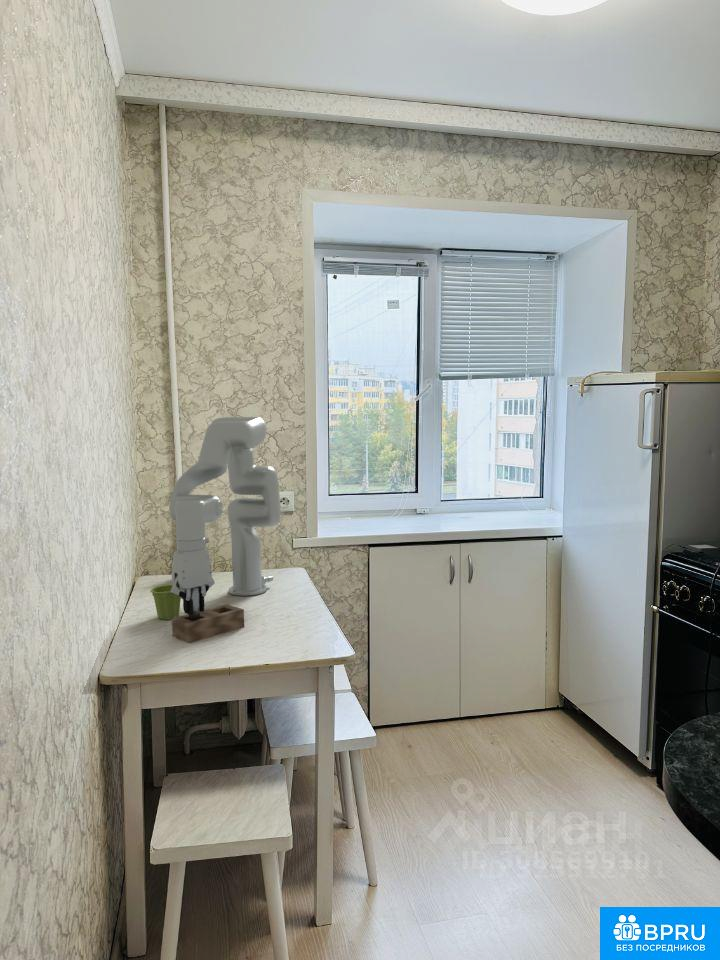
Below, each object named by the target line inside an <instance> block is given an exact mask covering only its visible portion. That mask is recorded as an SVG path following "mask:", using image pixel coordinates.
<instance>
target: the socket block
mask: <svg viewBox="0 0 720 960" xmlns="http://www.w3.org/2000/svg"><path fill="white" fill-rule="evenodd" d="M241 627H242V628H245V609H244V608H241V607H238V606H235V605H231V604H223V605H219V606H215V607H212V608H208V609H204V611H203V612H201V611H200V619H198V620H195V621H190V620H189V614H184V615H181V616H180V615H179V616H178V617H175V618H172V619H171V631H172V632H171V633H172V637H173V638H174V639H177V640H179V641H183V642H185V643H188V644H190V643H194V642H197V641H201V640H204V639H207V638H211V637H214V636H218V635H221V634H224V633H227V632H228V633H229V632H232V631H235V630H238V629H242V628H241Z"/></svg>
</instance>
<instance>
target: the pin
mask: <svg viewBox="0 0 720 960" xmlns="http://www.w3.org/2000/svg"><path fill="white" fill-rule="evenodd" d="M190 600H192V604H193V614H192V615H189V620H190V621H195V620H198V619H200V597H199V587H195V588H191V593H190Z"/></svg>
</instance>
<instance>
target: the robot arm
mask: <svg viewBox="0 0 720 960" xmlns="http://www.w3.org/2000/svg"><path fill="white" fill-rule="evenodd" d="M267 431H268V430H267V425H266V422H265V420H263V418H261V417H259V416H225V417H224V416H223V417H219V418H216V419H213V420H212V422H211V423H210V424H209V425H208V426H207V429H206V430H205V434H204V437H203V441H202V445H201V448H200V452H199V454H198V455H199V456H198V459H197V462H196V463H194V464H193V465H192V466H190V468H188V469H187V470H185V472H184V473H183V474H182V475H181V476H180V477H179V478H178V479H177V481H176V483H175V484H174V487H173V490H172V493H171V497H170V502H169V509H168V510H169V515H170V517H171V518H172V520H174V521H175V533H176V534H175V535H176V537H175V538H176V550H175V551H173V557H172V564H171V566H172V567H171V585H172V589H171V593H174V594H177V595H178V596H180V597H181V600H182V605H183V609H182V610H183V612H184V614H185V615H188V614H189V615H192V614H193V604H192V600H190V593H191V588H195V587H199V597H200V611H201V612H203V611H204V610H205V605H206V604H205V597H206V596H207V593H208V591H209V589H210V588H212V586H214V585H215V579H214V578H213V571H212V563H211V562H212V561H211V556H210V553H209V552H210V551H209V549H208V548H207V544H209V543H210V538H208V537H206V523H213V522H216V521H218V519H220V518H221V516H222V514H223V509H224V507H223V501H222V500H221V498H219V497H218V496H216V495H213V494H190V493H191V492H193V491H194V489H196V488H197V487H199V486H201V485H202V484H205V483H208V482H210V481H213V480H215V479H217V478H219V477H221V476H223V475H224V474H225V473H226V472H228V481H229V487H230V490H231V492H232V493H233V494H234V495H238V496H239V495H240V496H262V497H239V498H234V499H231V501H230V502H229V503H228V506H227V513H226V514H227V520H228V523H229V528H230V539H231V561H232V586H230V587H228V593H229V594H230V595H232V596H242V597H245V596H249V595H250V596H256V595H261V594H263V593H266V591H267V585H265V584H266V583H270V582H272V581H274V577H273V575H268V576H264V575H262V551H261V538H260V535H259V533H258V532H257V530H256V529H255V527H257V528H258V527H262V528H263V527H265V528H266V527H267V528H269V527H275V526H277V525H279V524H280V521H281V516H282V515H281V514H282V512H281V511H282V510H281V497H280V484H279V476H278V473H277V471H276V470H275V468H273V467H272V466H269V465H256V464H255V460H254V459H255V458H254V451H253V448H256V447H257V446H259V445H261V444H262V443H263V442H264V440H266V437H267V436H266V435H267ZM179 587H180V588H181V591H180V590H179V589H178V588H179Z"/></svg>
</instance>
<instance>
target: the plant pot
mask: <svg viewBox="0 0 720 960" xmlns="http://www.w3.org/2000/svg"><path fill="white" fill-rule="evenodd" d="M171 589H172V584H164V585H157V586H154V587H152V588H150V592H151V594H152V597H153V598H154V599H153V600H154V603H155V609H156V615H157V618H158V619H159V620H166V621H167V620H172V618H176V617H180V613H181V612H180V609H181V600H182V599H181V597H180V596H178V595H177V594H174V593H171ZM178 589H179V590H180V591H181V588H180V587H179V588H178Z"/></svg>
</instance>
